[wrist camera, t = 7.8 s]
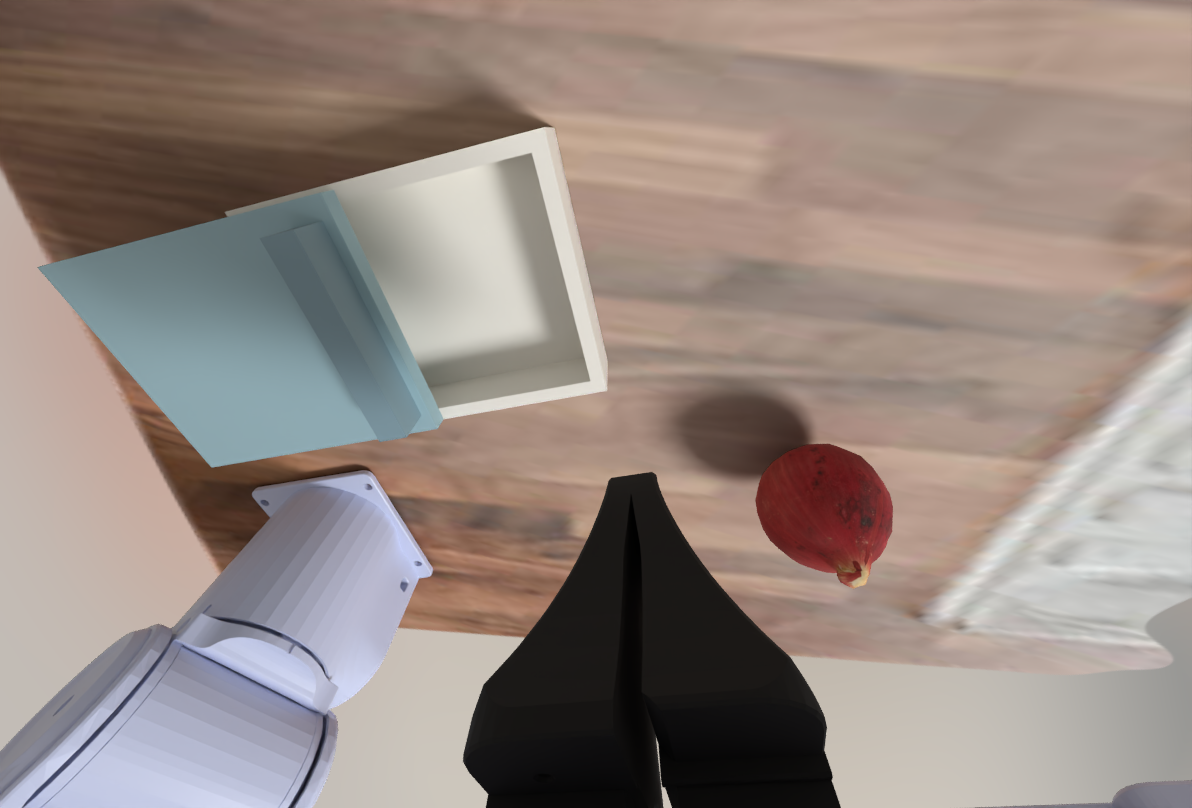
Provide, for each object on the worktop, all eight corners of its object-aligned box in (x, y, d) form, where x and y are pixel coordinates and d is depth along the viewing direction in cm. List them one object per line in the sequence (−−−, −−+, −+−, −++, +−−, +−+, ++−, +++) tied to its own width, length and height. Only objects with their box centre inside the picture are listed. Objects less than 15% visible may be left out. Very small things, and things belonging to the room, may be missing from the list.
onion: (779, 399, 23) (851, 513, 16) (871, 434, 24) (976, 556, 17) (721, 478, 26) (761, 603, 19) (805, 506, 27) (872, 635, 20)
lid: (443, 418, 20) (424, 451, 18) (224, 457, 22) (183, 491, 19) (333, 189, 15) (289, 198, 13) (60, 261, 17) (-17, 279, 15)
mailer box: (607, 360, 22) (606, 390, 19) (387, 401, 23) (360, 433, 21) (554, 127, 17) (544, 127, 14) (278, 201, 18) (224, 211, 16)
